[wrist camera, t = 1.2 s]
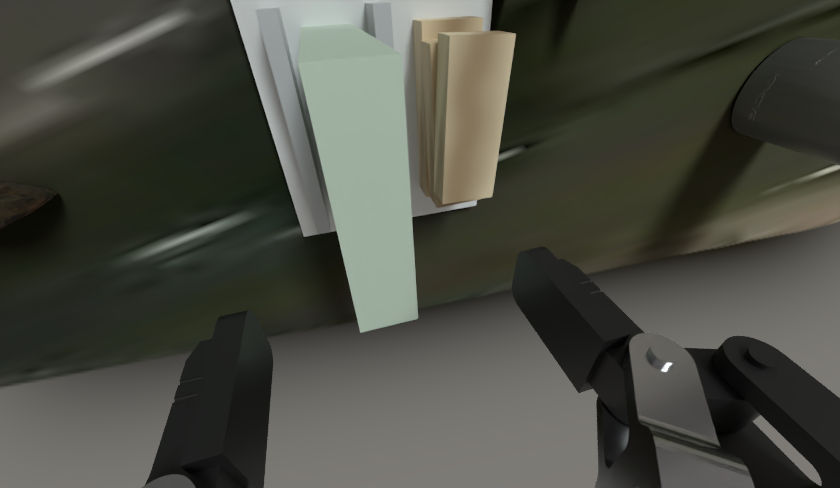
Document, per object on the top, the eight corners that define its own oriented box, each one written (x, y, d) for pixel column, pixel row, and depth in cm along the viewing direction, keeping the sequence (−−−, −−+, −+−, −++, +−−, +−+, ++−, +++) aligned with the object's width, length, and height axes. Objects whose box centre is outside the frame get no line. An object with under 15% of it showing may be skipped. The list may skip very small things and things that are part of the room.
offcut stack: (473, 15, 22) (517, 21, 18) (464, 178, 29) (494, 213, 25) (411, 19, 21) (441, 26, 17) (418, 186, 29) (440, 223, 24)
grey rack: (489, -43, 21) (520, -49, 18) (472, 200, 32) (489, 221, 29) (222, -36, 18) (205, -42, 15) (303, 230, 29) (303, 258, 26)
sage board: (351, 23, 21) (402, 54, 10) (374, 193, 28) (418, 318, 17) (301, 26, 20) (297, 62, 9) (338, 199, 27) (360, 332, 17)
